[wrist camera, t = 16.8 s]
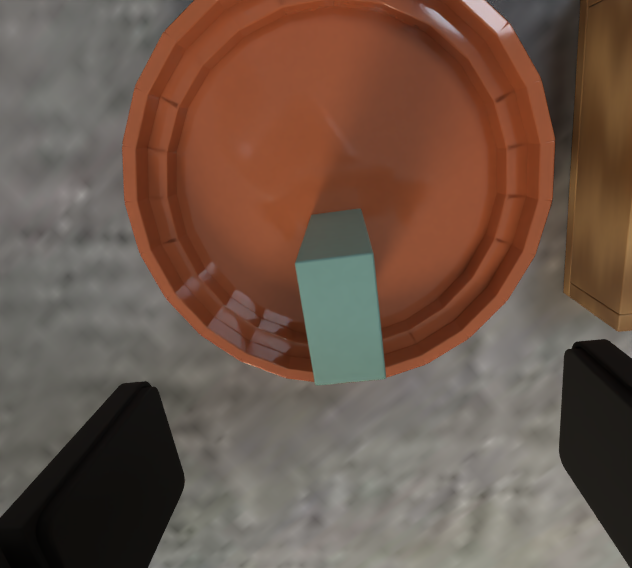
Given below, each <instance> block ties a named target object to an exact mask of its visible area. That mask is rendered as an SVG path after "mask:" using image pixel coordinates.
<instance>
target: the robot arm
mask: <svg viewBox="0 0 632 568" xmlns="http://www.w3.org/2000/svg"><path fill="white" fill-rule="evenodd" d="M559 454H560V458H561V462H562V464H563V466H564V468H565V470H566V471H567V473H568V474H569V476H570V477H571V479H572V480H573V482H574V483H575V485H576V486H577V488H578V489H579V491H580V492H581V494H582V495H583V497H584V498H585V500H586V502H587V503H588V505H589V506H590V508H591V509H592V511H593V512H594V514H595V515H596V517H597V518H598V520H599V521H600V523H601V524H602V526H603V527H604V529H605V530H606V532H607V533H608V535H609V536H610V538H611V539H612V541H613V542H614V544H615V545H616V547H617V549H618V550H619V552H620V553H621V555H622V556H623V558H624V559H625V561H626V562H627V564H628V565H629V567H630V568H632V358H630V357H629V356H628V355H626V354H625V353H624V352H623V351H621V350H620V349H619V348H617V347H616V346H615V345H614V344H612V343H611V342H610V341H608V340H606V339H601V340H590V341H579V342H575V343H574V344H573V346H572V349H567V350H566V352H565V355H564V369H563V387H562V405H561V423H560V441H559ZM184 482H185V479H184V473H183V469H182V466H181V463H180V460H179V456H178V453H177V450H176V447H175V443H174V440H173V437H172V434H171V430H170V427H169V424H168V421H167V417H166V414H165V411H164V408H163V404H162V401H161V398H160V395H159V392H158V390H157V388H156V387H151V385H150V384H149V383H148V382H146V381H145V382H134V383H124V384H121V385H120V386H119V387H118V388H117V389H116V390H115V391H114V392H113V394H112V395H111V396H110V397H109V398H108V399H107V400H106V401H105V402H104V403H103V405H102V406H101V407H100V408H99V409H98V410H97V411H96V412H95V413H94V415H93V416H92V417H91V418H90V419H89V420H88V421H87V422H86V423H85V425H84V426H83V427H82V428H81V429H80V430H79V431H78V432H77V433H76V435H75V436H74V437H73V438H72V439H71V440H70V441H69V442H68V443H67V444H66V446H65V447H64V448H63V449H62V450H61V451H60V452H59V453H58V454H57V456H56V457H55V458H54V459H53V460H52V461H51V462H50V463H49V464H48V466H47V467H46V468H45V469H44V470H43V471H42V472H41V473H40V474H39V475H38V477H37V478H36V479H35V480H34V481H33V482H32V483H31V484H30V485H29V487H28V488H27V489H26V490H25V491H24V492H23V493H22V494H21V495H20V497H19V498H18V499H17V500H16V501H15V502H14V503H13V504H12V505H11V507H10V508H9V509H8V510H7V511H6V512H5V513H4V514H3V515H2V516H1V518H0V568H148V566H149V564H150V562H151V559H152V557H153V555H154V553H155V551H156V549H157V546H158V544H159V542H160V540H161V538H162V535H163V533H164V531H165V529H166V527H167V524H168V522H169V520H170V518H171V516H172V514H173V511H174V509H175V507H176V505H177V503H178V500H179V498H180V496H181V494H182V491H183V489H184Z"/></svg>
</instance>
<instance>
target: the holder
mask: <svg viewBox="0 0 632 568" xmlns="http://www.w3.org/2000/svg"><path fill="white" fill-rule="evenodd" d="M563 292H564V293H565V294H566V295H568V296H570V298H572V299H573V300H575V301H576V302H577V303H579V304H580V305H582V306H583V307H584V308H586V309H587V310H588V311H590V312H591V313H593V314H594V315H595V316H597V317H598V318H600V319H601V320H602V321H604V322H605V323H607V324H608V325H609V326H611V327H612V328H613V329H615V330H616V331H618V332H620V331H630V330H632V0H580V17H579V35H578V52H577V69H576V86H575V103H574V120H573V137H572V154H571V171H570V188H569V205H568V222H567V239H566V256H565V274H564V291H563Z"/></svg>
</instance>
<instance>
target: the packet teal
mask: <svg viewBox="0 0 632 568" xmlns="http://www.w3.org/2000/svg"><path fill="white" fill-rule="evenodd" d="M295 268H296V274H297V280H298V286H299V292H300V298H301V304H302V310H303V316H304V322H305V328H306V334H307V339H308V345H309V351H310V357H311V363H312V369H313V375H314V381H315V384H316V385H327V384H338V383H348V382H359V381H370V380H381V379H385V378H386V370H385V361H384V351H383V341H382V331H381V321H380V311H379V301H378V291H377V281H376V272H375V262H374V253H373V250H372V246H371V243H370V239H369V235H368V232H367V228H366V225H365V221H364V217H363V214H362V210H361V209H360V208H359V209H352V210H344V211H337V212H329V213H322V214H314V215H311V217H310V220H309V223H308V226H307V229H306V232H305V235H304V238H303V241H302V244H301V247H300V250H299V253H298V256H297V259H296V262H295Z"/></svg>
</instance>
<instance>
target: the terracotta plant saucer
mask: <svg viewBox="0 0 632 568" xmlns="http://www.w3.org/2000/svg"><path fill="white" fill-rule="evenodd" d="M122 144H123V146H122V155H123V179H124V200H125V201H126V202H125V206H126V209H127V212H128V216H129V219H130V223H131V226H132V229H133V233H134V236H135V239H136V243H137V246H138V250H139V253H141V254H140V255H141V257H142V258H143V260H144V262H145V264H146V265H147V267H148V269H149V270H150V272H151V274H152V276H153V277H154V279H155V281H156V282H157V284H158V286H159V288H160V289H161V291H162V293H163V295H164V296H165V298H166V299H167V300H168V301H169V302H170V303H171V304H172V306H173V307H174V308H175V309H176V310H177V311H178V312H179V313H180V314H181V315H182V316H183V317H184V318H185V319H186V320H187V321H188V322H189V323H190V324H191V326H192V327H193V328H194V329H195V330H196V331H197V332H198V333H199V334H201V336H203V337H204V338H206V339H207V340H209V341H210V342H212V343H213V344H215V345H216V346H218V347H220V348H221V349H223V350H224V351H226V352H227V353H229V354H230V355H232V356H233V357H235V358H236V359H238V360H239V361H242V362H244V363H247V364H249V365H252V366H255V367H257V368H260V369H263V370H265V371H268V372H271V373H273V374H276V375H279V376H281V377H286V378H288V379H296V380H304V381H311V382H315V381H314V375H313V369H312V363H311V357H310V351H309V345H308V339H307V334H306V328H305V322H304V316H303V310H302V304H301V298H300V292H299V286H298V280H297V274H296V268H295V262H296V259H297V256H298V253H299V250H300V247H301V244H302V241H303V238H304V235H305V232H306V229H307V226H308V223H309V220H310V217H311V215H314V214H322V213H329V212H337V211H344V210H352V209H359V208H360V209H361V210H362V214H363V217H364V221H365V225H366V228H367V232H368V235H369V239H370V243H371V246H372V250H373V253H374V262H375V272H376V281H377V291H378V301H379V311H380V321H381V331H382V341H383V351H384V361H385V370H386V378H387V377H390V376H393V375H396V374H399V373H402V372H405V371H408V370H411V369H414V368H417V367H420V366H423V365H425V364H428V363H429V362H431V361H433V360H434V359H436V358H438V357H439V356H441V355H443V354H444V353H446V352H448V351H449V350H451V349H452V348H454V347H456V346H457V345H459V344H461V343H462V342H464V341H466V340H467V339H468V338H470V337H471V336H472V335H473V334H474V333H475V332H476V331H477V330H478V329H479V328H480V327H481V326H482V325H483V324H484V323H485V322H486V321H487V320H488V319H489V318H490V317H491V316H492V315H493V314H494V313H495V312H496V311H497V310H498V309H499V308H500V307H501V306H502V305H503V304H504V303H505V302H506V301H507V300H508V299H509V297H510V296H511V294H512V292H513V291H514V289H515V287H516V286H517V284H518V283H519V281H520V279H521V278H522V276H523V274H524V273H525V271H526V270H527V268H528V266H529V265H530V263H531V261H532V260H533V258H534V257H535V254H536V251H537V248H538V245H539V242H540V238H541V235H542V232H543V229H544V226H545V223H546V219H547V216H548V213H549V210H550V207H551V203H552V199H553V179H554V157H555V136H554V131H553V127H552V123H551V118H550V114H549V110H548V105H547V101H546V97H545V92H544V88H543V84H542V80H541V77H540V75H539V73H538V72H537V70H536V68H535V66H534V65H533V63H532V61H531V59H530V57H529V56H528V54H527V52H526V50H525V49H524V47H523V45H522V43H521V42H520V40H519V38H518V36H517V34H516V33H515V31H514V29H513V27H512V26H511V24H510V23H508V21H507V20H506V19H505V18H504V17H503V16H502V15H501V14H500V13H499V12H498V11H497V10H496V9H495V8H494V7H493V6H492V5H490V4H489V3H488V2H487V1H486V0H194V1H193V2H192V3H191V4H190V5H189V6H188V7H187V8H186V9H185V10H184V11H183V12H182V13H181V14H180V15H179V16H178V17H177V19H176V20H175V21H174V22H173V23H172V24H171V25H170V26H169V27H168V28H167V29H166V30H165V32H163V34H162V36H161V38H160V39H159V41H158V43H157V45H156V47H155V49H154V51H153V53H152V55H151V57H150V58H149V60H148V62H147V64H146V66H145V68H144V70H143V72H142V74H141V76H140V77H139V79H138V81H137V83H136V85H135V88H134V93H133V97H132V102H131V107H130V111H129V116H128V120H127V125H126V129H125V134H124V139H123V143H122ZM370 381H372V380H370ZM359 382H361V381H359ZM348 383H350V382H348ZM338 384H339V383H338Z"/></svg>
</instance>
